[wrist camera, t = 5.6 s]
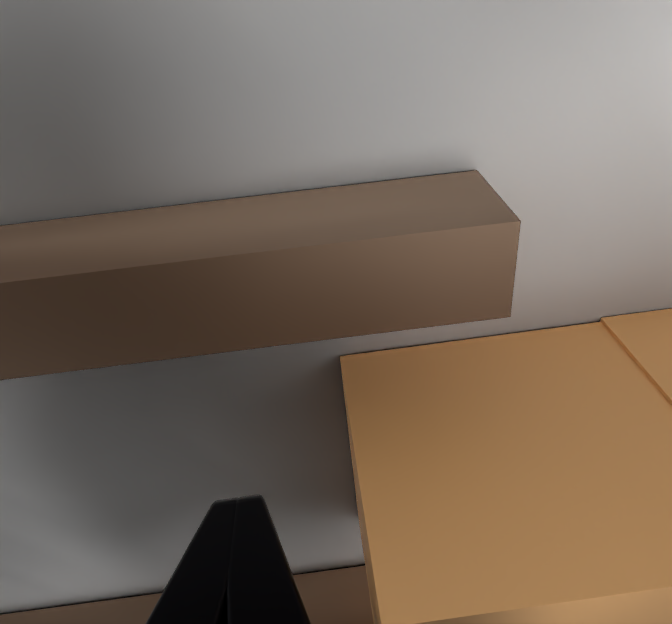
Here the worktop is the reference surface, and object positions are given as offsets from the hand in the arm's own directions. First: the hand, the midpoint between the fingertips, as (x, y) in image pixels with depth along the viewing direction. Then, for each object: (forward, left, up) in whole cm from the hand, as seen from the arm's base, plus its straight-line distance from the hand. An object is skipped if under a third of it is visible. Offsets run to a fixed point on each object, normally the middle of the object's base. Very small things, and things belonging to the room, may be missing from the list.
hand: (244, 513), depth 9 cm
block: (0, -4, -1) cm, 4 cm away
